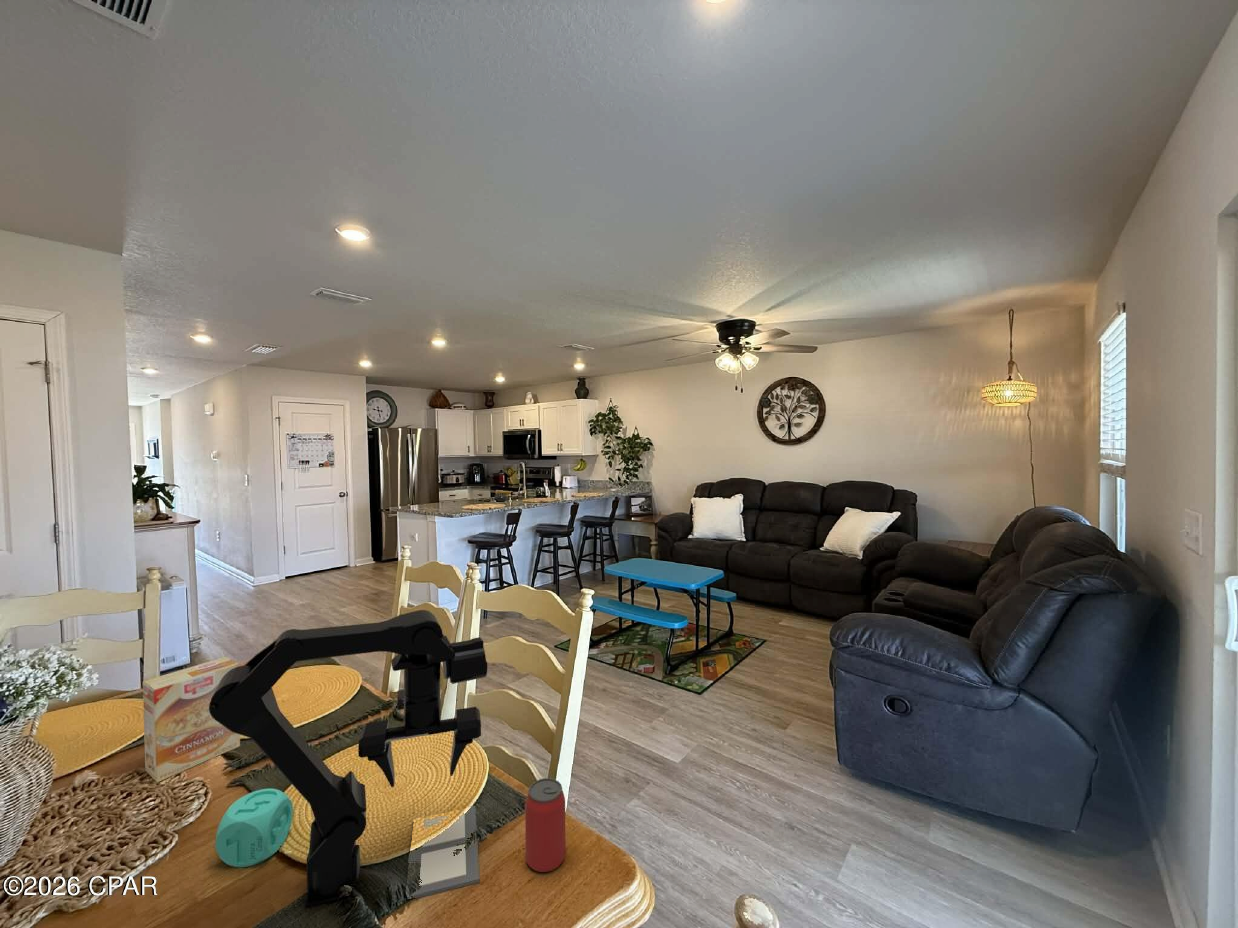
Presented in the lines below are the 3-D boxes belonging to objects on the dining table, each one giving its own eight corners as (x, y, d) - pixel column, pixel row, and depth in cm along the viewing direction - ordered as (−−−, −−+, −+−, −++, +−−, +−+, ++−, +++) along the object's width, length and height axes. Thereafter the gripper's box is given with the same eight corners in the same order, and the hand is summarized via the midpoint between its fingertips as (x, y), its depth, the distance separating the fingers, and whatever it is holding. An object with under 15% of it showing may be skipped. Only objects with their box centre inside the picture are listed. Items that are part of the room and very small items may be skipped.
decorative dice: (215, 869, 83) (213, 821, 82) (247, 831, 91) (246, 788, 90) (266, 867, 83) (264, 819, 83) (294, 829, 91) (293, 786, 91)
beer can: (558, 877, 81) (558, 805, 81) (519, 871, 83) (519, 799, 82) (570, 845, 88) (569, 778, 87) (533, 839, 89) (533, 773, 89)
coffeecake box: (156, 783, 103) (152, 689, 103) (144, 771, 107) (140, 680, 106) (241, 746, 116) (239, 662, 115) (228, 736, 120) (225, 655, 119)
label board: (404, 901, 77) (404, 896, 77) (413, 821, 93) (413, 817, 93) (479, 882, 80) (479, 877, 80) (475, 808, 97) (475, 804, 97)
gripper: (477, 661, 96) (477, 742, 96) (367, 675, 90) (368, 761, 90) (481, 689, 85) (481, 779, 86) (357, 706, 79) (358, 804, 80)
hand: (422, 779), depth 86 cm, fingers open, 9 cm apart
